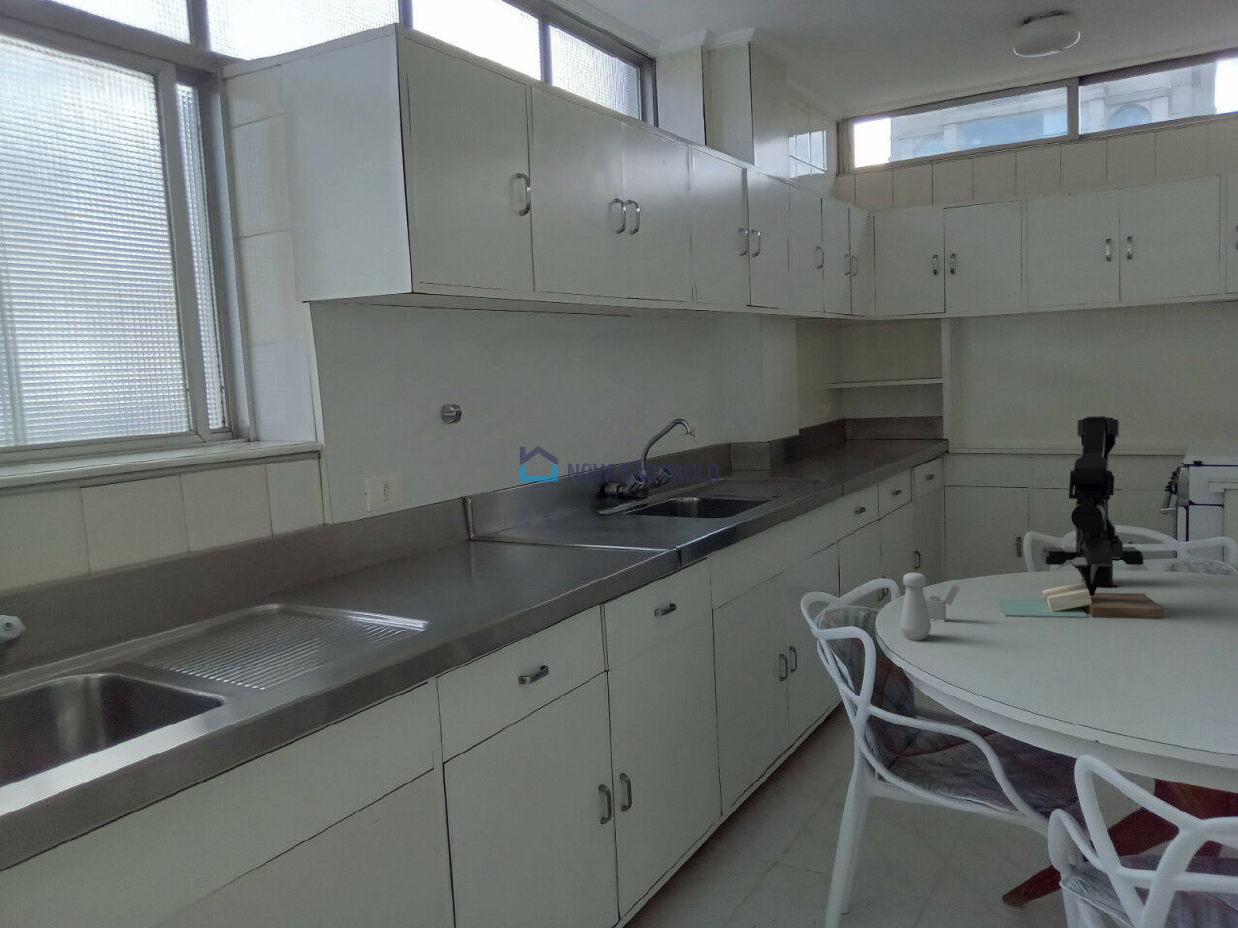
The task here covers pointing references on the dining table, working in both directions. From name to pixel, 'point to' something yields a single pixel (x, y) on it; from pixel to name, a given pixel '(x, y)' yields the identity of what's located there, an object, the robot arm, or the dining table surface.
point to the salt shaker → (915, 608)
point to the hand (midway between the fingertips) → (1091, 595)
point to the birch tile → (1067, 597)
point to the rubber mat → (1036, 609)
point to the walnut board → (1123, 606)
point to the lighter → (940, 604)
